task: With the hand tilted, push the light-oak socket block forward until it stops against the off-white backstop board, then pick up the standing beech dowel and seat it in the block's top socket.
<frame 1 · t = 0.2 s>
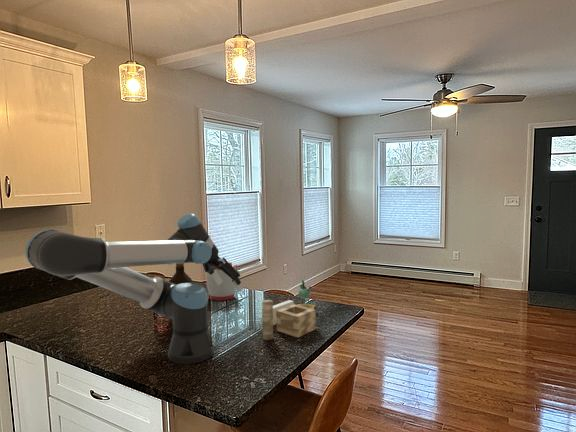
hand: (230, 286, 161), 15 cm above the worktop, tool tilted 35°, fingers open, 13 cm apart
dowel: (267, 337, 145), on the worktop
olive oil: (181, 322, 163), on the worktop
backstop: (279, 321, 163), on the worktop
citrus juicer: (223, 297, 198), on the worktop
block: (296, 320, 153), point 4 cm above the worktop, slide at 0.0 cm
frog figurine: (302, 310, 178), on the worktop
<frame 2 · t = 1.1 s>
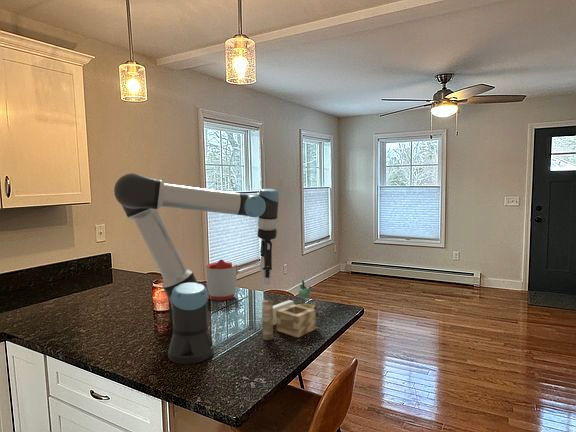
hand: (264, 277, 159), 19 cm above the worktop, tool pointing down, fingers open, 13 cm apart
nothing on the worktop moved.
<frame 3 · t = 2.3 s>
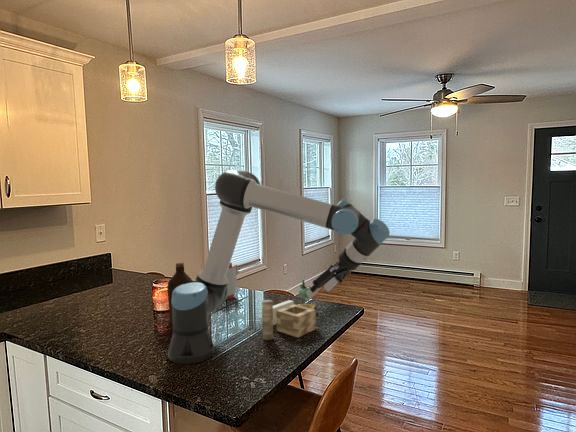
hand: (317, 292, 145), 17 cm above the worktop, tool tilted 45°, fingers open, 10 cm apart
nothing on the worktop moved.
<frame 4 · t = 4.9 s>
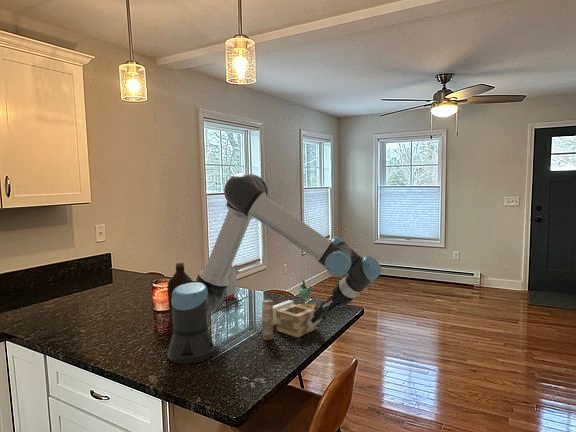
hand: (309, 325, 148), 3 cm above the worktop, tool tilted 45°, fingers closed
block: (296, 319, 153), point 4 cm above the worktop, slide at 0.1 cm, touching gripper
everything else where it was.
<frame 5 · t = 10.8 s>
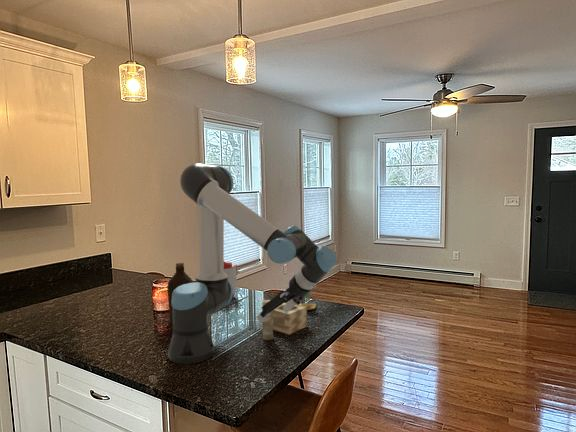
hand: (272, 315, 143), 9 cm above the worktop, tool tilted 45°, fingers open, 13 cm apart
block: (287, 317, 156), point 4 cm above the worktop, slide at 4.6 cm, touching gripper
everything else where it was.
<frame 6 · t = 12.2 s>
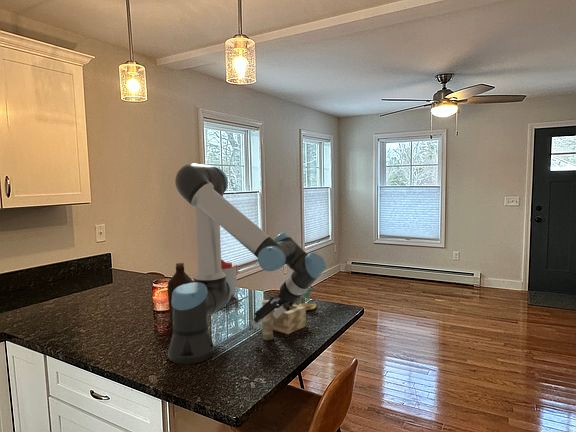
hand: (264, 320, 147), 6 cm above the worktop, tool tilted 45°, fingers open, 11 cm apart
block: (286, 317, 156), point 4 cm above the worktop, slide at 5.0 cm, touching backstop, gripper
everything else where it was.
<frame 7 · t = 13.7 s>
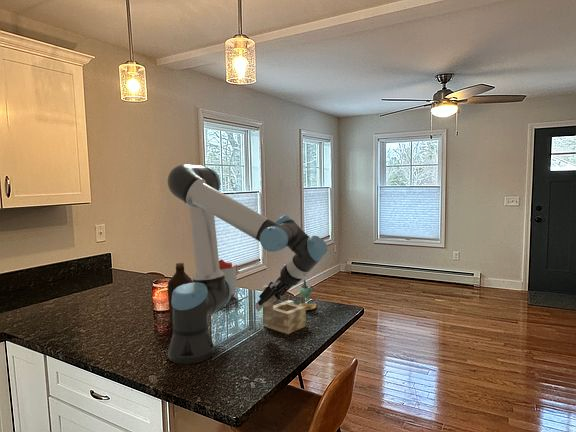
hand: (261, 306, 147), 11 cm above the worktop, tool tilted 45°, fingers closed on dowel, 4 cm apart
dowel: (268, 323, 145), point 6 cm above the worktop, touching gripper
block: (286, 317, 156), point 4 cm above the worktop, slide at 5.0 cm, touching backstop
when the fingers open (9 cm above the worktop, at t = 17.6 s): dowel stays where it is, resting on block.
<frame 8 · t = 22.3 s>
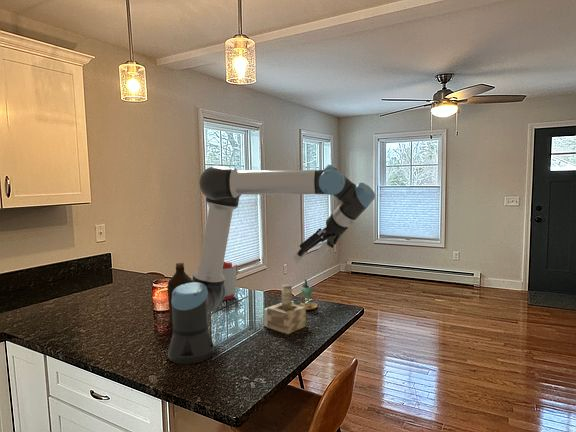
hand: (307, 257, 147), 30 cm above the worktop, tool tilted 45°, fingers open, 13 cm apart
dowel: (286, 319, 156), point 3 cm above the worktop, touching block
block: (286, 317, 156), point 4 cm above the worktop, slide at 5.0 cm, touching dowel
at the end: block slide at 5.0 cm; dowel 0.2 cm off-centre on the block, point 3.0 cm above the block's base; the gripper is holding nothing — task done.
